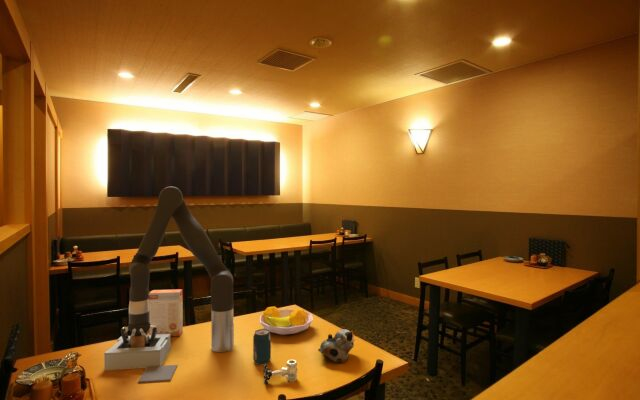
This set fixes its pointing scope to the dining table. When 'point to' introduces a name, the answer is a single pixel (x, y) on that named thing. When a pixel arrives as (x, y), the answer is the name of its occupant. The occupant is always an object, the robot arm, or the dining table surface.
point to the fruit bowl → (285, 320)
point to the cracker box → (166, 311)
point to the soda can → (261, 346)
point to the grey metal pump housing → (338, 345)
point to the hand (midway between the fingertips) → (139, 351)
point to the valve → (282, 372)
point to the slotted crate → (137, 354)
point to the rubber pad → (158, 373)
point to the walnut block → (138, 341)
